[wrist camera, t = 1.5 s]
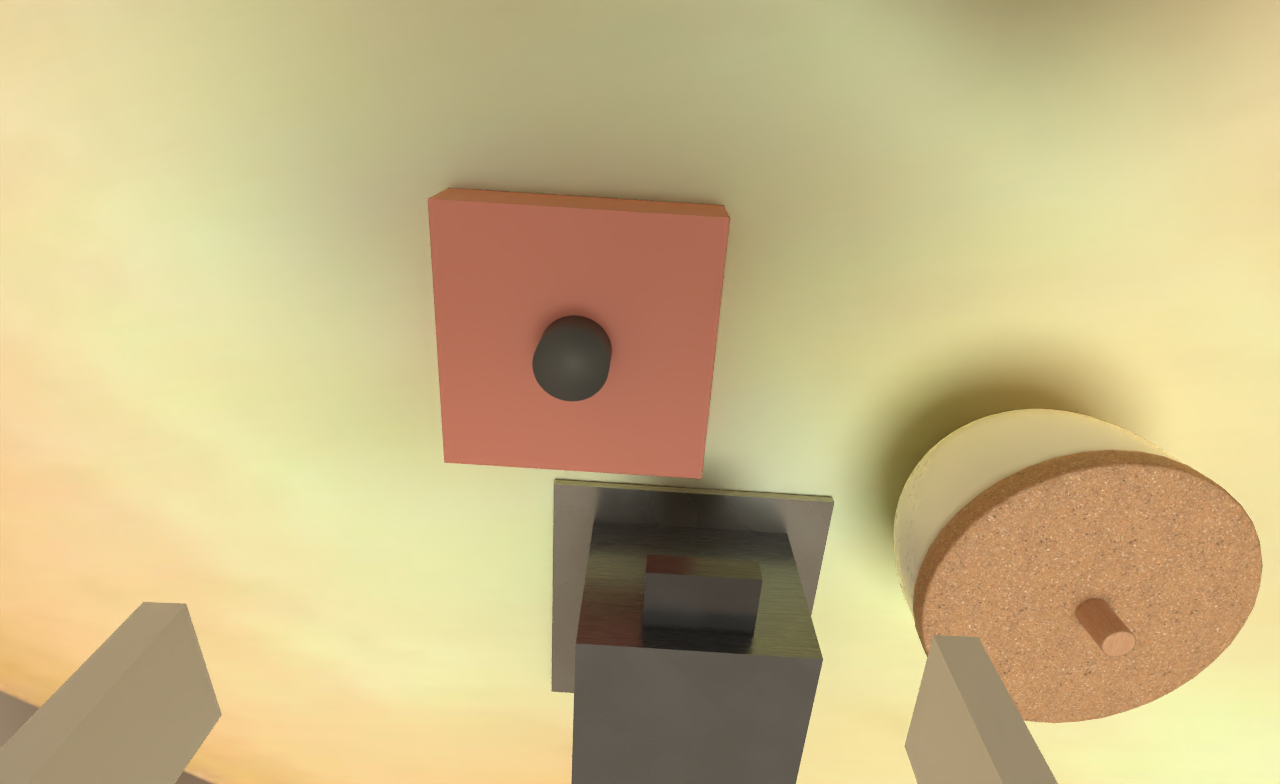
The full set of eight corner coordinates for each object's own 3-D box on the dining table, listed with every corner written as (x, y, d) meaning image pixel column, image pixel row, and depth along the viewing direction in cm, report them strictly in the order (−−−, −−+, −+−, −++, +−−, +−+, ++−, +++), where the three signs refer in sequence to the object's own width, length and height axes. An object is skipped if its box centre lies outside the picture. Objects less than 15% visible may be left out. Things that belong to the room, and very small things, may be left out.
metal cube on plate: (555, 466, 30) (524, 584, 23) (834, 484, 30) (888, 607, 23) (552, 694, 36) (526, 846, 29) (789, 709, 36) (821, 864, 29)
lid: (452, 186, 26) (412, 206, 22) (722, 203, 26) (734, 227, 22) (464, 427, 30) (432, 483, 26) (697, 442, 30) (703, 501, 26)
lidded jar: (849, 584, 32) (917, 766, 24) (874, 368, 28) (969, 496, 20) (1086, 582, 32) (1243, 767, 24) (1150, 364, 28) (1370, 492, 19)
